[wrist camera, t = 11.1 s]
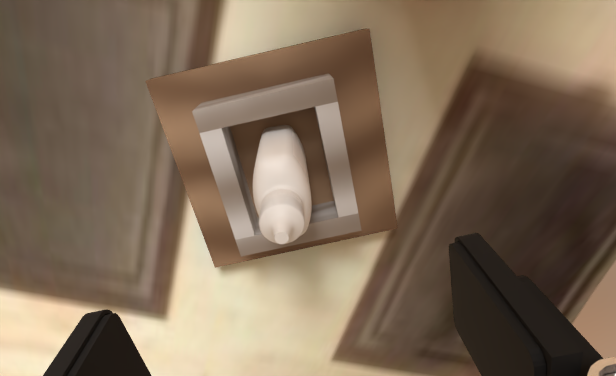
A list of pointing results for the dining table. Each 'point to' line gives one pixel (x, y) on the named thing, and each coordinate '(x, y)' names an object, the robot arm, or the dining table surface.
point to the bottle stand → (274, 112)
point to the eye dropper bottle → (281, 185)
